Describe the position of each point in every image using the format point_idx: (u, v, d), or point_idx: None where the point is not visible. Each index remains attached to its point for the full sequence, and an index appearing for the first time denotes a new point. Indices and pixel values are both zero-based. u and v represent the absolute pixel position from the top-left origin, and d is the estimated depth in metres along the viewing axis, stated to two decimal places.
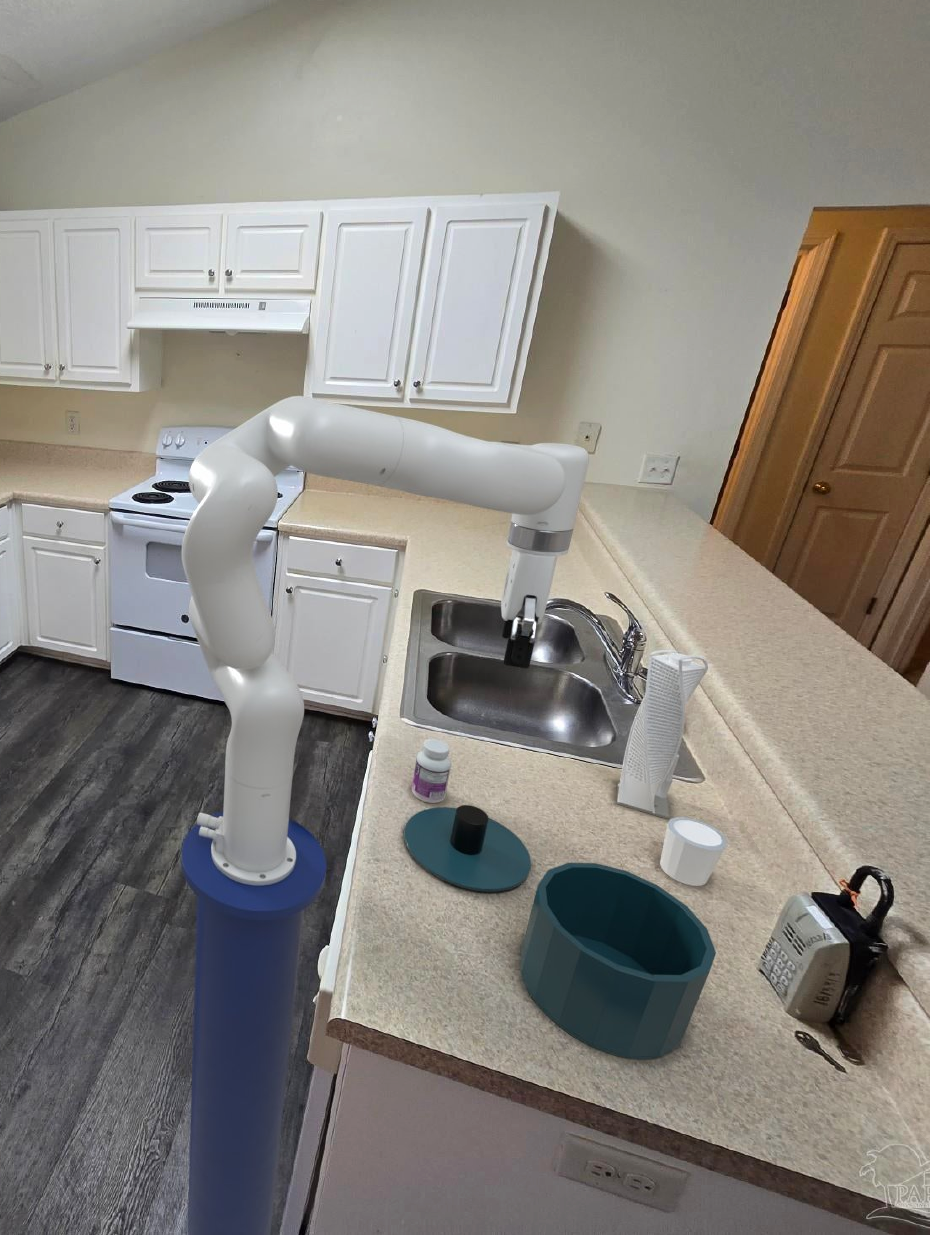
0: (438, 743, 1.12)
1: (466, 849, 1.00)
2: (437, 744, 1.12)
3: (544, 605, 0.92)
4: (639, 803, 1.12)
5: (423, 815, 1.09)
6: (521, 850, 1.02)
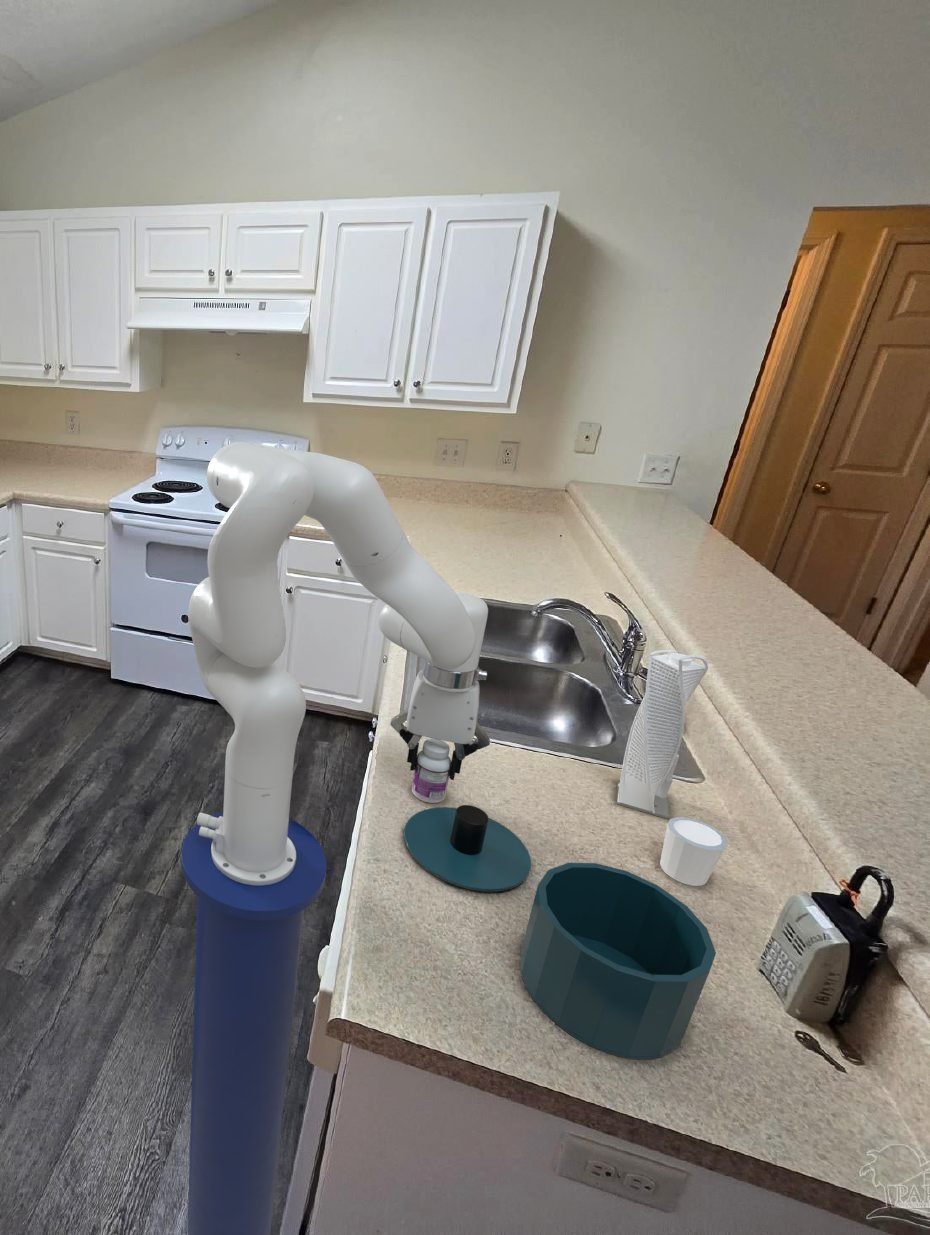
0: (438, 743, 1.12)
1: (466, 849, 1.00)
2: (437, 744, 1.12)
3: (409, 715, 1.10)
4: (639, 803, 1.12)
5: (423, 815, 1.09)
6: (521, 850, 1.02)
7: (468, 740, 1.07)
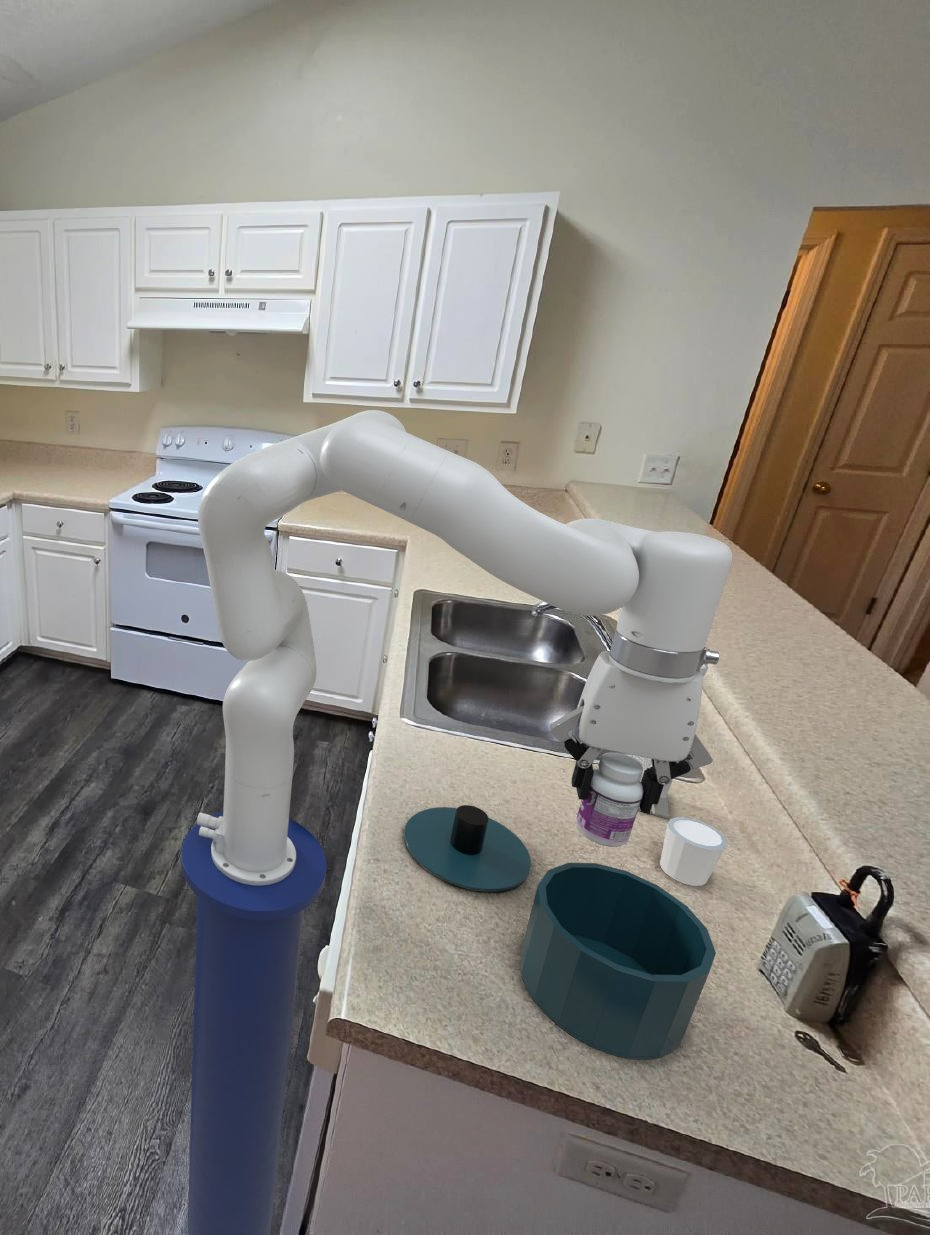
0: (623, 759, 0.76)
1: (466, 849, 1.00)
2: (623, 760, 0.76)
3: (585, 718, 0.74)
4: None
5: (423, 815, 1.09)
6: (521, 850, 1.02)
7: (681, 756, 0.71)
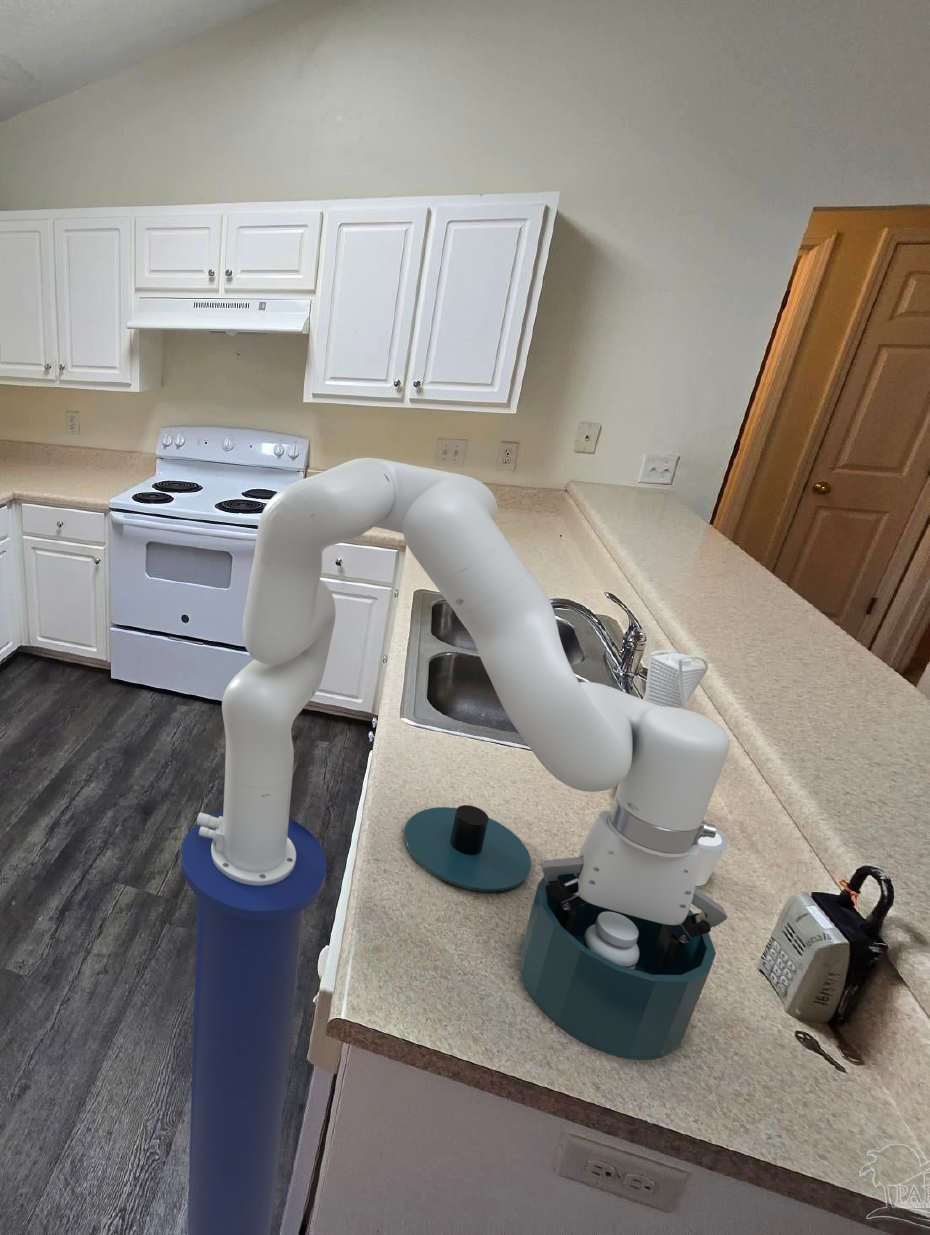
0: (619, 921, 0.78)
1: (466, 849, 1.00)
2: (619, 922, 0.78)
3: (584, 878, 0.75)
4: None
5: (423, 815, 1.09)
6: (521, 850, 1.02)
7: (678, 921, 0.73)
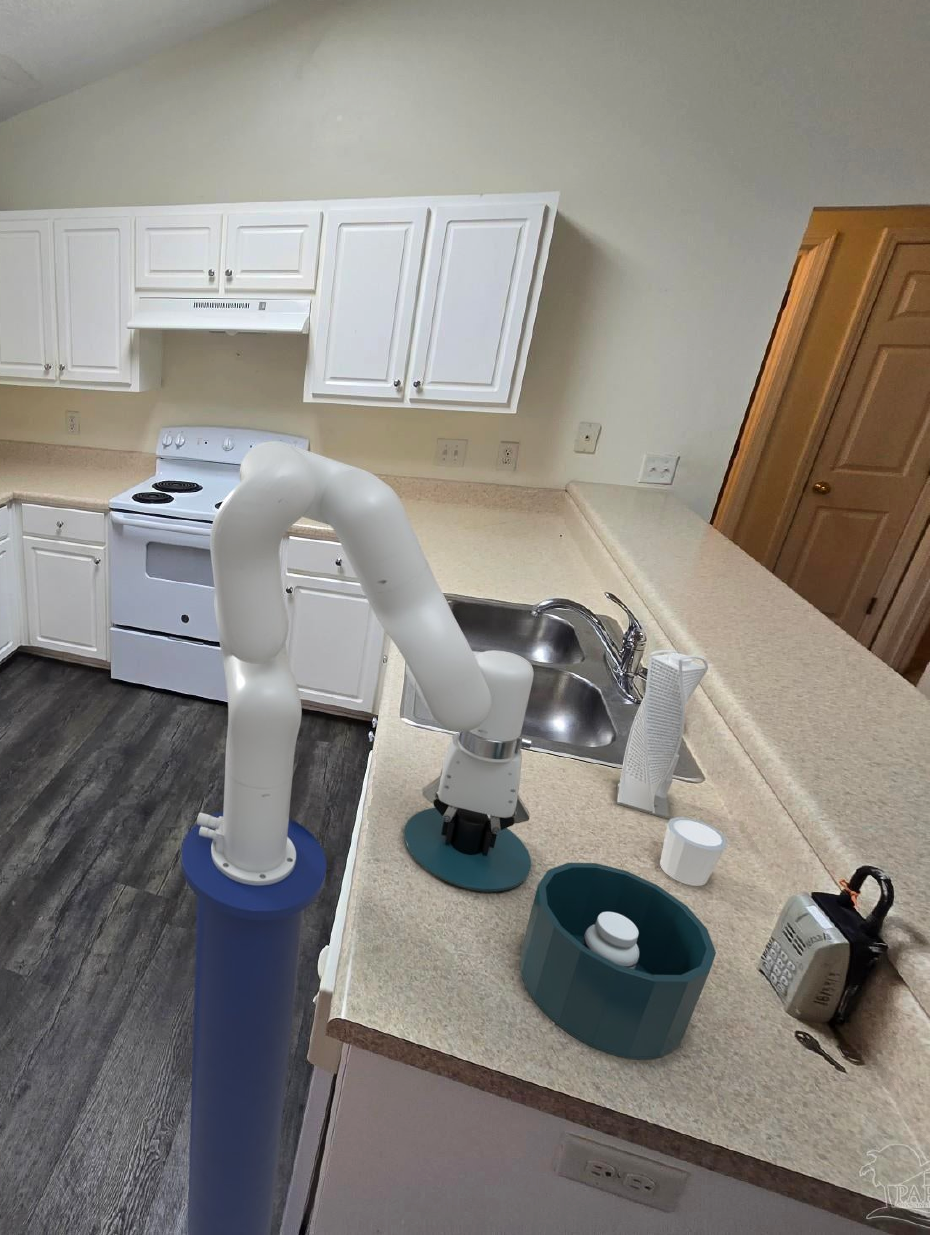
0: (619, 921, 0.78)
1: (466, 849, 1.00)
2: (619, 922, 0.78)
3: (441, 784, 0.99)
4: (639, 803, 1.12)
5: (423, 815, 1.09)
6: (521, 850, 1.02)
7: (509, 814, 0.96)
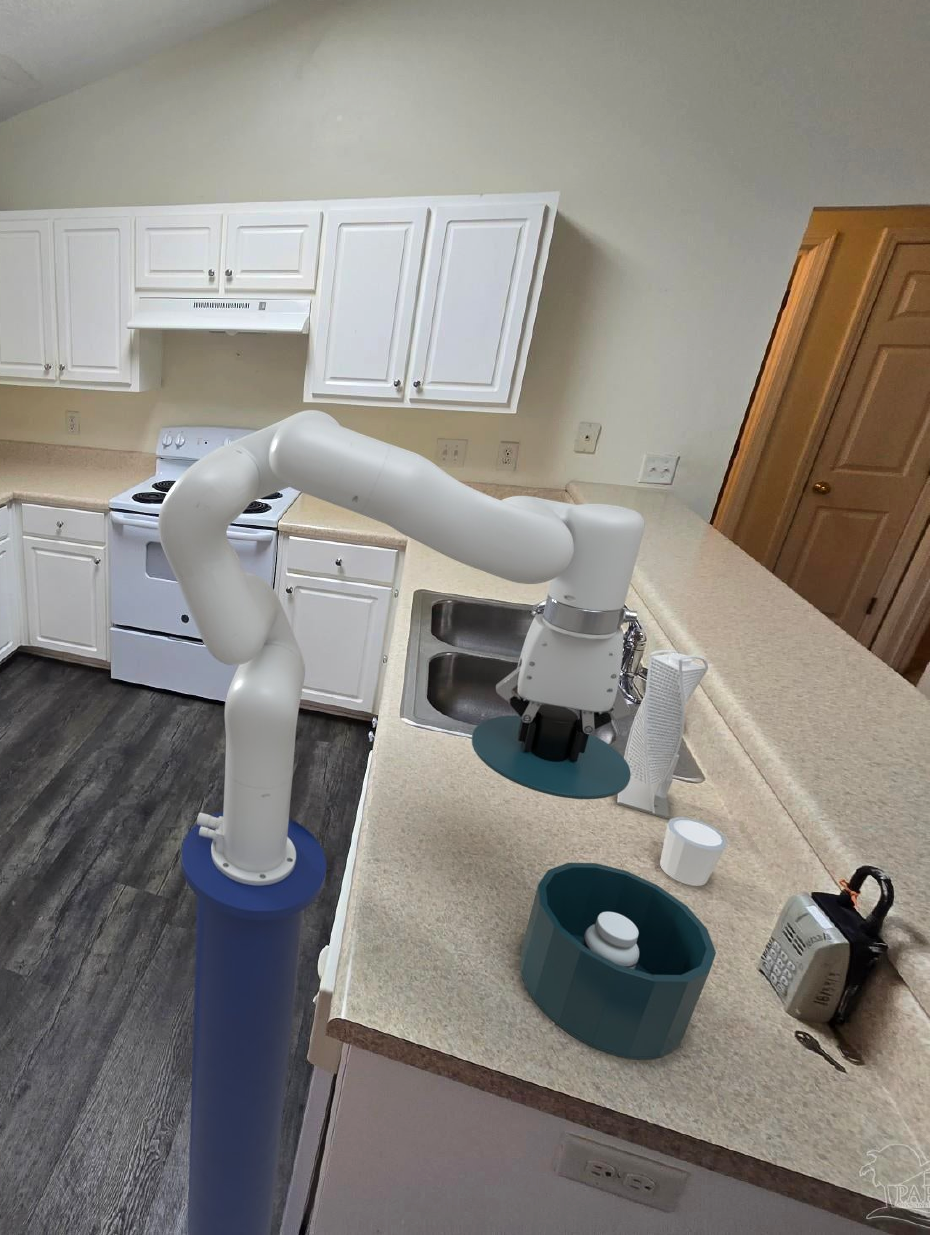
0: (619, 921, 0.78)
1: (551, 755, 0.83)
2: (619, 922, 0.78)
3: (522, 675, 0.82)
4: (639, 803, 1.12)
5: (491, 723, 0.92)
6: (615, 756, 0.85)
7: (607, 706, 0.79)
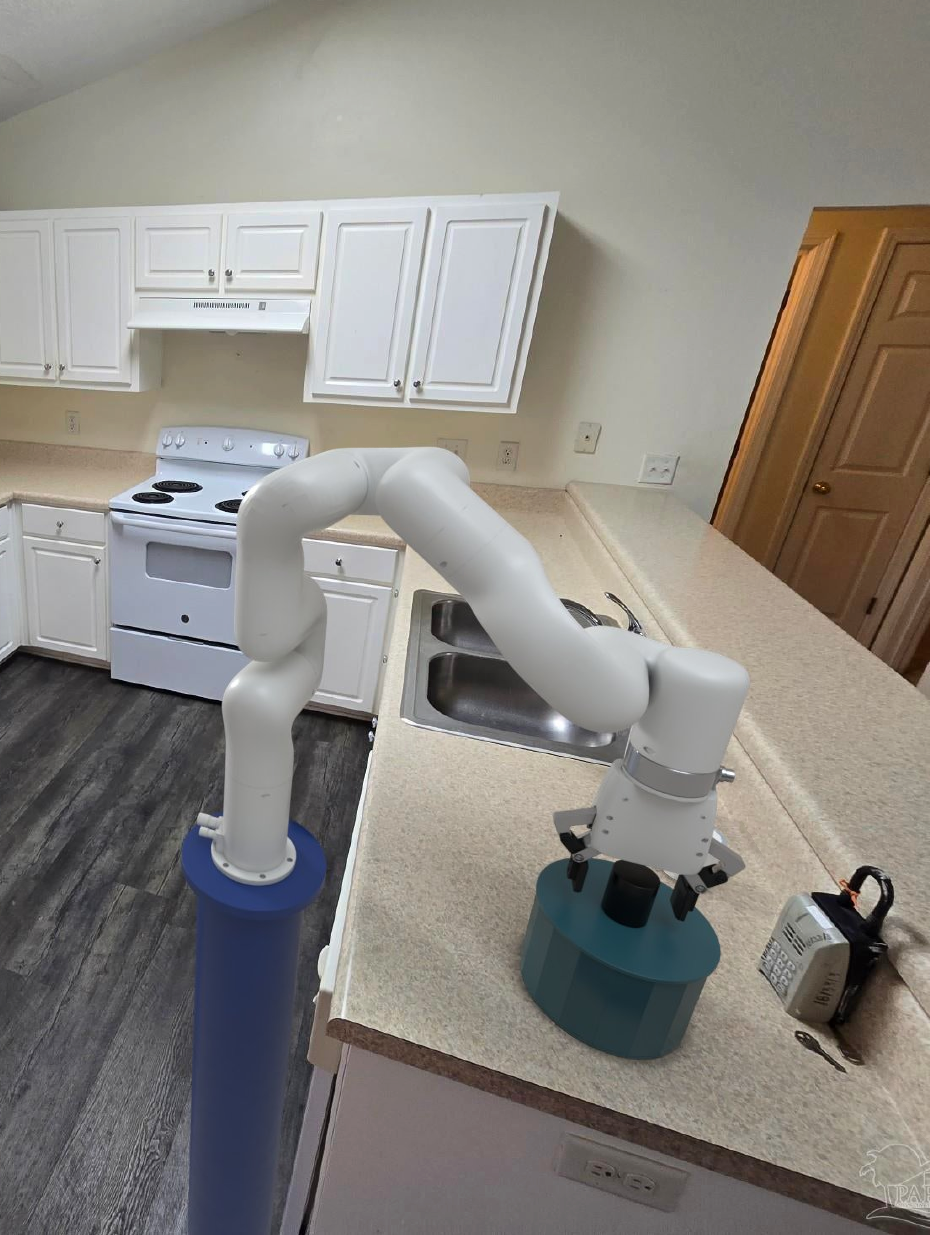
0: None
1: (629, 920, 0.75)
2: None
3: (597, 827, 0.73)
4: None
5: (556, 869, 0.83)
6: (699, 920, 0.76)
7: (695, 870, 0.71)
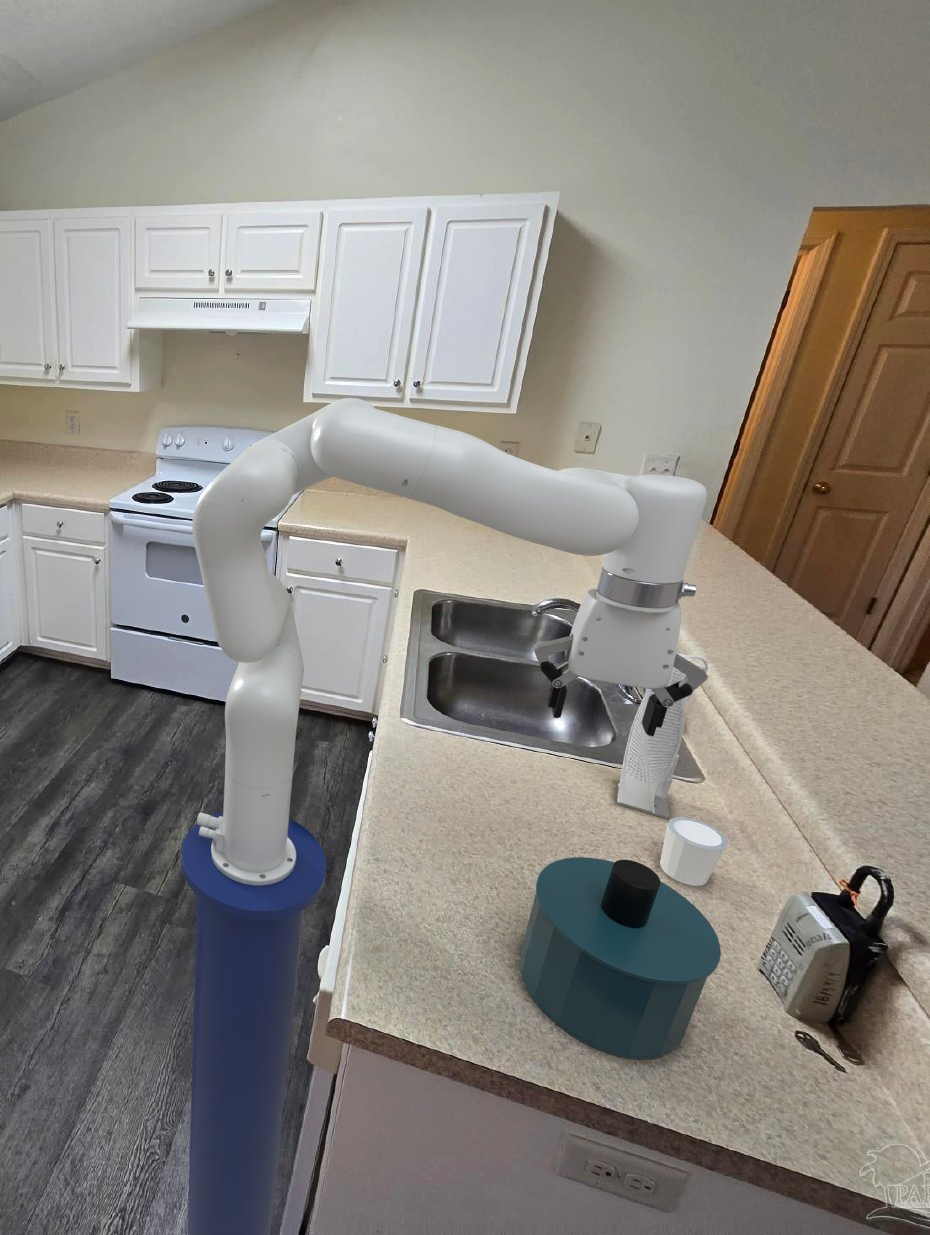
0: None
1: (629, 920, 0.75)
2: None
3: (574, 650, 0.80)
4: (639, 803, 1.12)
5: (556, 869, 0.83)
6: (699, 920, 0.76)
7: (662, 683, 0.77)
